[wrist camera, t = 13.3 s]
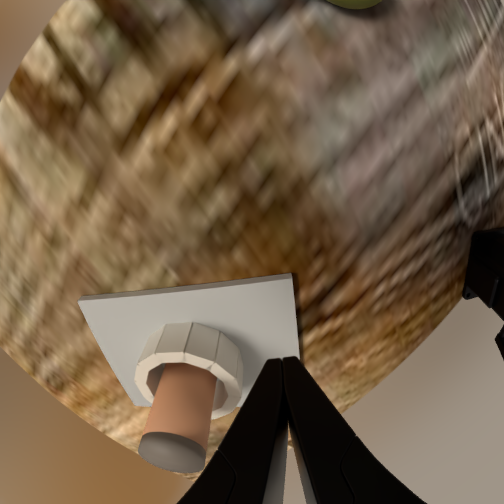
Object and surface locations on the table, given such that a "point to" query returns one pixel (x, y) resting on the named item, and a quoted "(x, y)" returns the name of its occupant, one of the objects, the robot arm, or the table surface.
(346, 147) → the table surface
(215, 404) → the plate with ring collar
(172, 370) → the plug
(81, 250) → the table surface
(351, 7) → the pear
